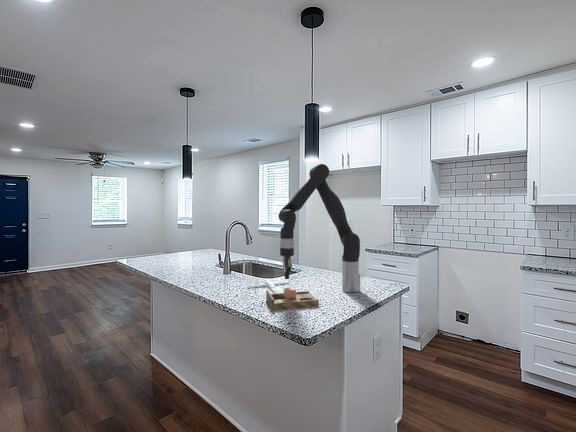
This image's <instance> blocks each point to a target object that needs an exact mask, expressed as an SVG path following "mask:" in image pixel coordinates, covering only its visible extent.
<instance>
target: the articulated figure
mask: <svg viewBox="0 0 576 432" xmlns="http://www.w3.org/2000/svg"><path fill="white" fill-rule="evenodd" d="M289 284H291V282H290V281H281V282H273V281H269V279H265V280H264V283H261V284H253V285H247V289H251V288H263V287H267V288H269V289H270V290H271V292H273V294H277V293H284V291H281V290H280V288H279V287H277V286H279V285H281V286H282V285H289Z"/></svg>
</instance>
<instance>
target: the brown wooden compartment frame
mask: <svg viewBox="0 0 576 432" xmlns="http://www.w3.org/2000/svg"><path fill="white" fill-rule="evenodd" d="M265 293H266V297H265V299H266V302H267V304H268V306H269V307H270V309H271V311H278V310H290V309H300V308H302V309H303V308H312V307H319V305H320V299H318V298H317V299H316V298H315V297H314V296H313V295H312V294H311V293H310V290H303V291H302V290H301V291H296V298H286V297H285V296H284V293H277V294H276V293H271V292H270V291H269V290H266V291H265Z"/></svg>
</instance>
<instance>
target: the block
mask: <svg viewBox="0 0 576 432" xmlns="http://www.w3.org/2000/svg"><path fill="white" fill-rule="evenodd" d="M283 292H284V296H285V297H286V298H296V292H297V289H296V288H294V286H292V287H284V288H283Z"/></svg>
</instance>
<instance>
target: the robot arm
mask: <svg viewBox="0 0 576 432" xmlns="http://www.w3.org/2000/svg"><path fill="white" fill-rule="evenodd" d="M308 175H309V179H308V180H307V181H306V183H305V184H304V185H303V186H301V188H300V189H299V190H298V191H297V192H296V193H295V194H294V195H293V197H292V198H291V199H290V201H289V202H288V203H287V204H285V205H284V206H283V207H282V208H281V210H280V211H279V212H278V220H279V221H280V222H281V223H283V226H282V227H281V228H280V239H279V240H280V241H279V256H281V257H283V258H282V260H281V262H282V269H283V271H284V279H285V280H290V273H291V271H292V267H293V263H292V259H291V257H293V256H295V241H294V240H295V239H294V238H295V236H294V235H295V234H294V230H295V225H296V223H297V221H296V220H297V216H296V212H297V211H300V210H301V209H302V208H303V206H304V205H305V203H306V202H307V201H308V200H309V199H310V197H311V195H313V193H314V191H317V192H318V194H319V197H320V198H321V201H322V203H323V205H324V207H325V209H326V212H327V214H328V215H329V217H330V219H331V221H332V223H333V225H334V227H335V228H336V231H337V232H338V233H337V234H338V236H339V239H340V242H341V244H342V245H343V254H342V256H341V259H342V260H341V263H342V265H341V268H342V269H341V271H342V272H341V274H342V276H341V279H342V280H341V281H342V282H341V284H342V285H341V287H342V288H341V289H342V291H343V292H346V293H351V294H352V293H358V292H361V274H360V271H359V268H360V265H359V264H360V260H359V259H360V255H361V253H360V252H361V239H360V237H359V236H358V234H356V233H354V232H353V230H352V228H351V226H350V225H349V222H348V219H347V214H346V210H345V208H344V206H343V203H342V201H341V199H340V197H339V196H338V195H337V194H336V193H335V192H334V191H333V190H332V189H331V188H330V186H329V185H328V182H327V178H328V177H329V175H330V169H329V166H328V165H326V163H325V164H324V163H320V164H317V165H315V166H313V167H311V168H310V170H309V174H308Z"/></svg>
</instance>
